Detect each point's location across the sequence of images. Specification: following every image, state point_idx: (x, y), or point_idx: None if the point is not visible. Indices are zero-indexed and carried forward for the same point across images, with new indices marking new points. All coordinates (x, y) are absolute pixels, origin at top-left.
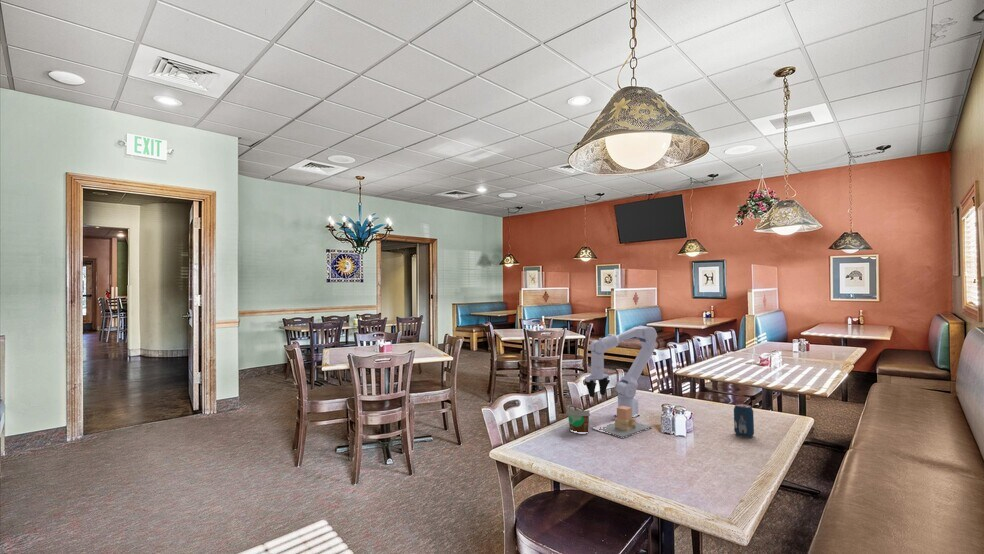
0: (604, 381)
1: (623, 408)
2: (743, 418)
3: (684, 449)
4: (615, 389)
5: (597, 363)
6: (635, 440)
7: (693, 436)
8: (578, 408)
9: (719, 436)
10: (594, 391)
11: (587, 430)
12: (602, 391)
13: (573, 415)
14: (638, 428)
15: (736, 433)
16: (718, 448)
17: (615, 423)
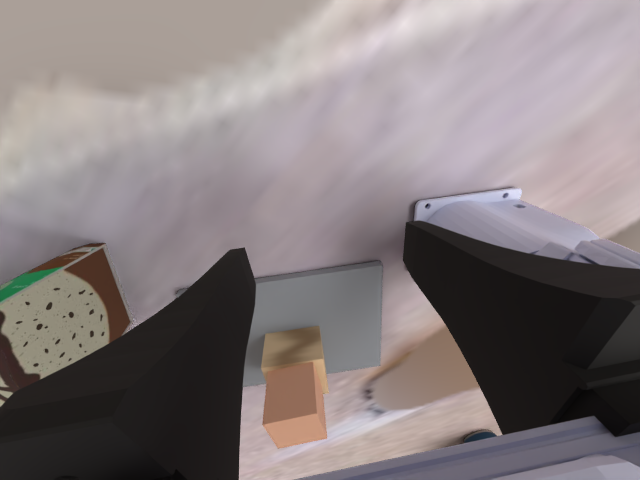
0: (518, 406)
1: (282, 437)
2: None
3: (306, 448)
4: (600, 257)
5: None
6: (251, 399)
7: (397, 418)
8: (2, 381)
9: (437, 430)
10: (244, 342)
11: (120, 334)
12: (421, 265)
13: None
14: (329, 364)
15: (468, 440)
16: (365, 456)
17: (264, 349)
